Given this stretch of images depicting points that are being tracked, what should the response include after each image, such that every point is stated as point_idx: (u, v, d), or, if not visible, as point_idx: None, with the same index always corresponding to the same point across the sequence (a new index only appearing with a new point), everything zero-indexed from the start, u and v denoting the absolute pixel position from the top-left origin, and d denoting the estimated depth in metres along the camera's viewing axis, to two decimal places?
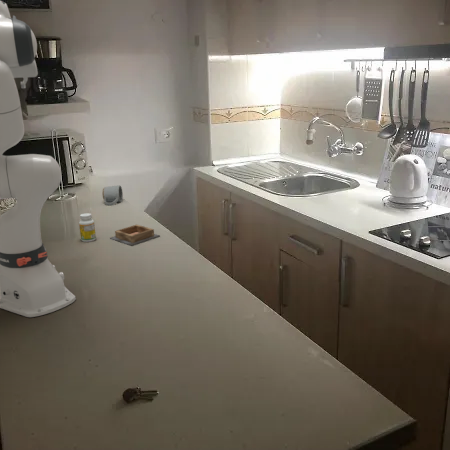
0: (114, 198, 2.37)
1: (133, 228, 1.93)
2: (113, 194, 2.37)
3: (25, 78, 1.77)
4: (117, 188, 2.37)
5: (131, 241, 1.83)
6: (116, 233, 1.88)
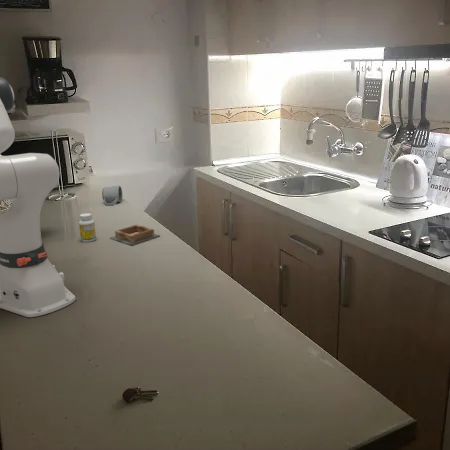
0: (114, 198, 2.37)
1: (133, 228, 1.93)
2: (113, 194, 2.36)
3: None
4: (117, 188, 2.36)
5: (131, 241, 1.83)
6: (116, 233, 1.88)
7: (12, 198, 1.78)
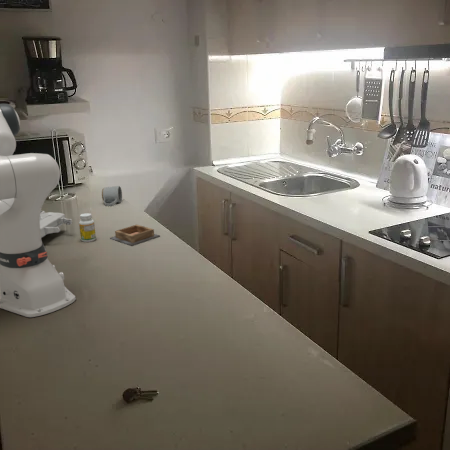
0: (113, 199, 2.36)
1: (133, 228, 1.93)
2: (112, 195, 2.35)
3: (62, 218, 1.94)
4: (116, 189, 2.36)
5: (131, 241, 1.83)
6: (116, 233, 1.88)
7: None
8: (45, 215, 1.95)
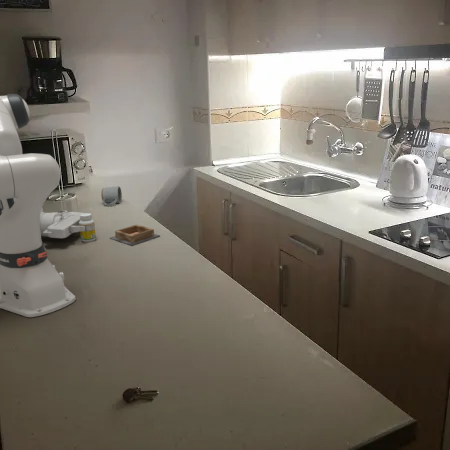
0: (113, 199, 2.35)
1: (133, 228, 1.93)
2: (112, 195, 2.35)
3: None
4: (116, 189, 2.35)
5: (131, 241, 1.83)
6: (116, 233, 1.88)
7: (52, 237, 1.80)
8: (68, 215, 1.93)
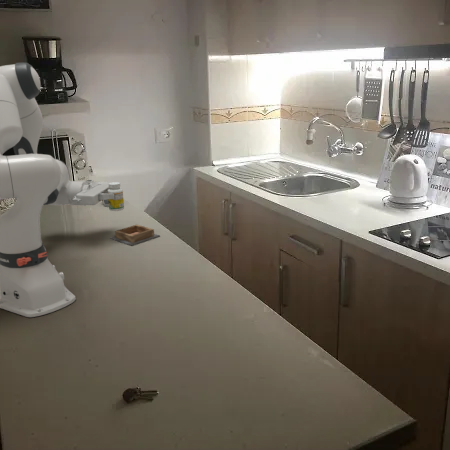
0: None
1: (133, 228, 1.93)
2: None
3: None
4: None
5: (131, 241, 1.83)
6: (116, 233, 1.88)
7: (82, 204, 1.77)
8: (95, 184, 1.90)
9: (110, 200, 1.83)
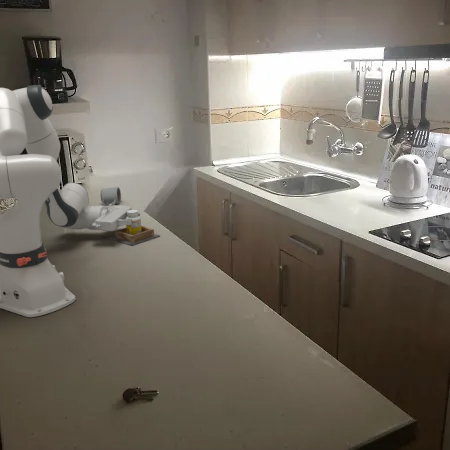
0: (112, 200, 2.34)
1: None
2: (111, 196, 2.33)
3: None
4: (115, 190, 2.34)
5: (131, 241, 1.83)
6: (116, 233, 1.88)
7: None
8: (113, 208, 1.93)
9: (128, 228, 1.86)
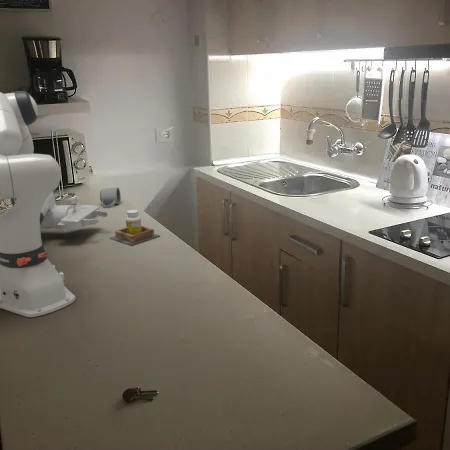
0: (112, 200, 2.33)
1: None
2: (111, 196, 2.33)
3: (97, 210, 1.95)
4: (115, 190, 2.33)
5: (131, 241, 1.83)
6: (116, 233, 1.88)
7: (66, 229, 1.82)
8: (81, 208, 1.95)
9: (128, 228, 1.86)
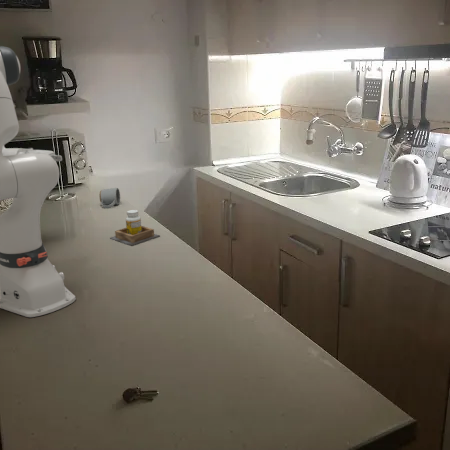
0: (111, 201, 2.32)
1: None
2: (110, 197, 2.32)
3: (51, 155, 1.82)
4: (114, 191, 2.32)
5: (131, 241, 1.83)
6: (116, 233, 1.88)
7: None
8: (34, 152, 1.83)
9: (128, 228, 1.86)
